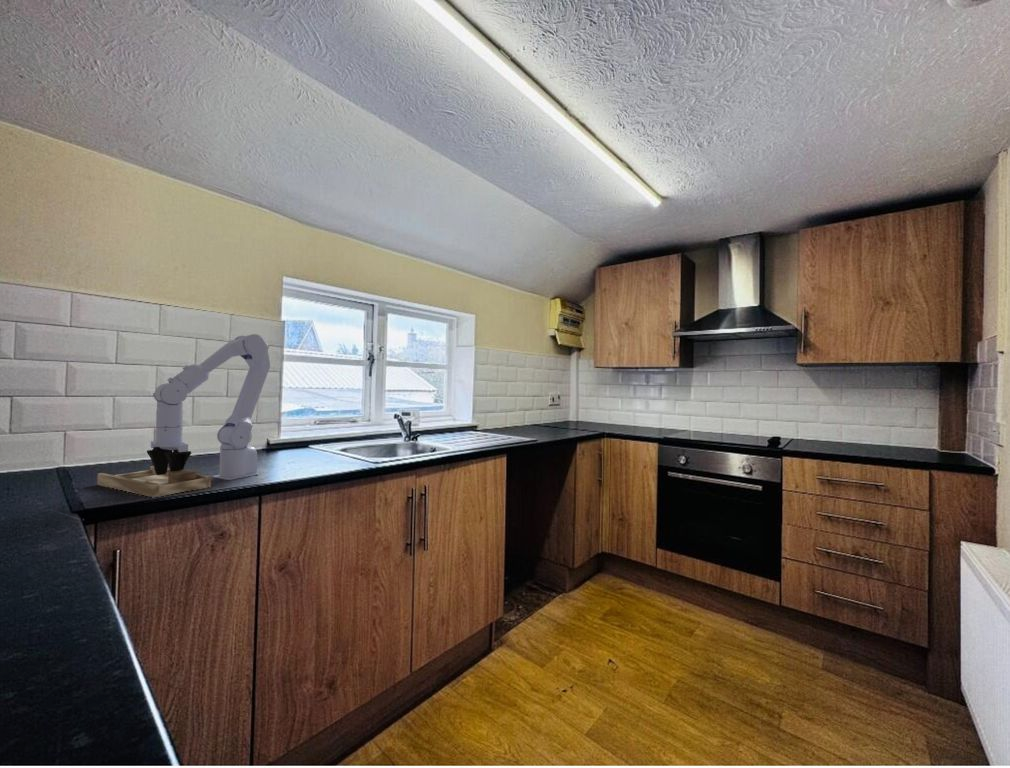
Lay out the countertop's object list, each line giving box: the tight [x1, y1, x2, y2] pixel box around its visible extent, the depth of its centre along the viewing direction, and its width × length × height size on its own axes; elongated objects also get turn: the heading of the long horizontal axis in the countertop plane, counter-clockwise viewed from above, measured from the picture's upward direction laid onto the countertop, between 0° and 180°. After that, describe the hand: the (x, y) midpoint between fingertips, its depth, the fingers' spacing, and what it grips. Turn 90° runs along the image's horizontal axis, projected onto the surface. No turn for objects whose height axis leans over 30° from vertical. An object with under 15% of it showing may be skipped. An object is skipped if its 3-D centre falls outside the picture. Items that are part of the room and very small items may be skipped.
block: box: [168, 468, 197, 484], centre depth 115 cm, size 4×4×3 cm
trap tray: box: [96, 465, 212, 497], centre depth 117 cm, size 13×28×3 cm, turn 64°
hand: (168, 476), depth 118 cm, fingers open, 7 cm apart
